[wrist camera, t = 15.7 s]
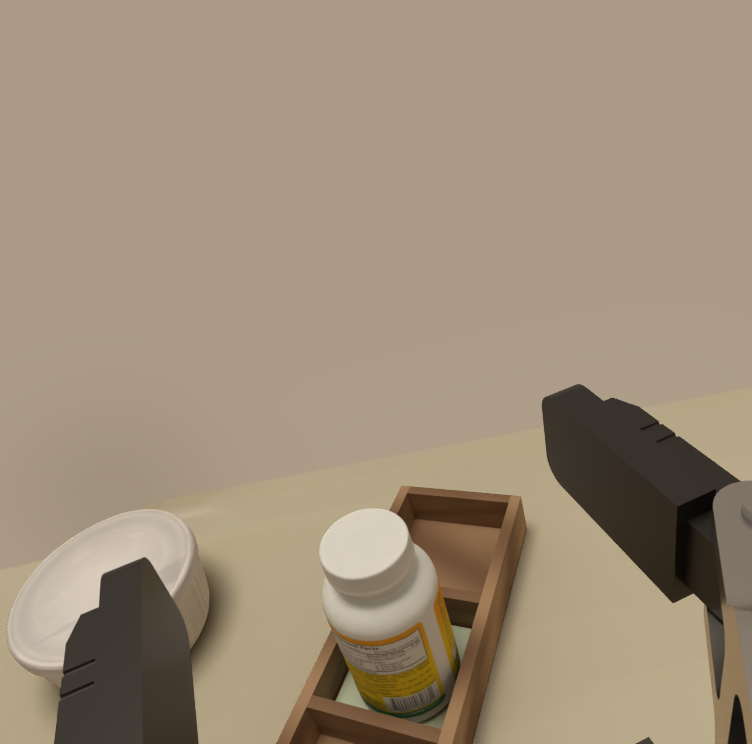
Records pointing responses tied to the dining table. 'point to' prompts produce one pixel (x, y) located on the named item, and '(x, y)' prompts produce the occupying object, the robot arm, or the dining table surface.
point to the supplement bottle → (388, 615)
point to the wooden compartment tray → (466, 614)
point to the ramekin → (82, 583)
